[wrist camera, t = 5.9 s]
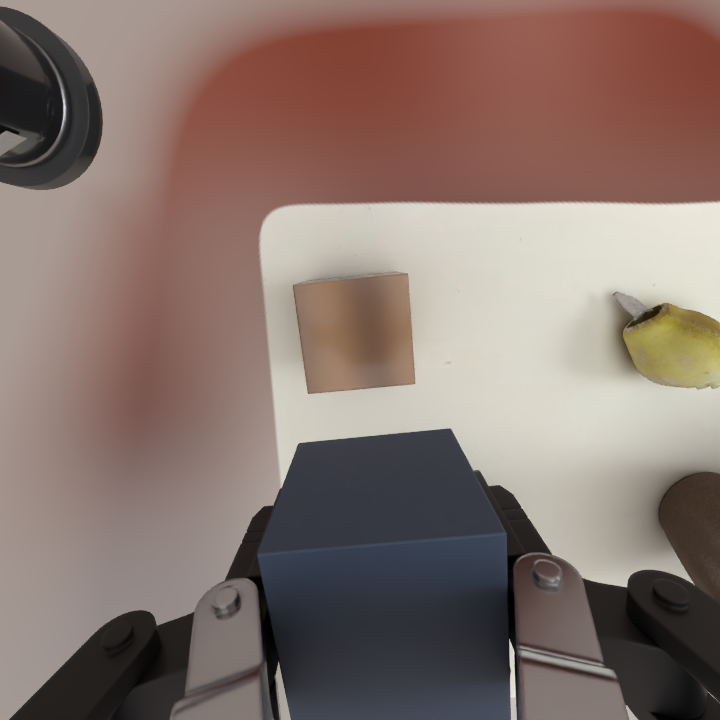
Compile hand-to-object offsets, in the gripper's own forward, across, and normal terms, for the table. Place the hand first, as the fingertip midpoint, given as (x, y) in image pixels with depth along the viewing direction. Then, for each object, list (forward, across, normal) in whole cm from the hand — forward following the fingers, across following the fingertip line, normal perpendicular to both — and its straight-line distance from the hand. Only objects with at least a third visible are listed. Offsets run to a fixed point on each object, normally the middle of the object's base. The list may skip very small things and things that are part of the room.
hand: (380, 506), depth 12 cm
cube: (+21, +1, -3) cm, 21 cm away
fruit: (+21, -23, +1) cm, 31 cm away
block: (0, 0, 0) cm, 0 cm away
